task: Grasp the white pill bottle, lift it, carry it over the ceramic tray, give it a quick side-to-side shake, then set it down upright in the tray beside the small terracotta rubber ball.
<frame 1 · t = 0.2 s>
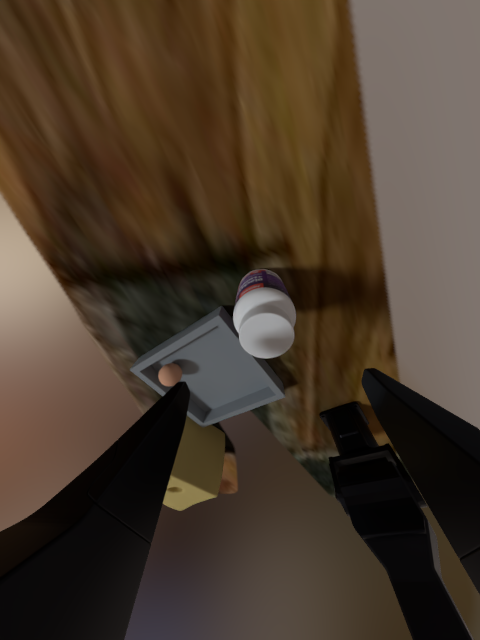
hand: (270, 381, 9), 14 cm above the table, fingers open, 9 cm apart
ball: (174, 366, 27), point 1 cm above the table, touching tray
cheese: (193, 429, 37), on the table
tray: (212, 370, 28), on the table
pill bottle: (260, 290, 22), on the table
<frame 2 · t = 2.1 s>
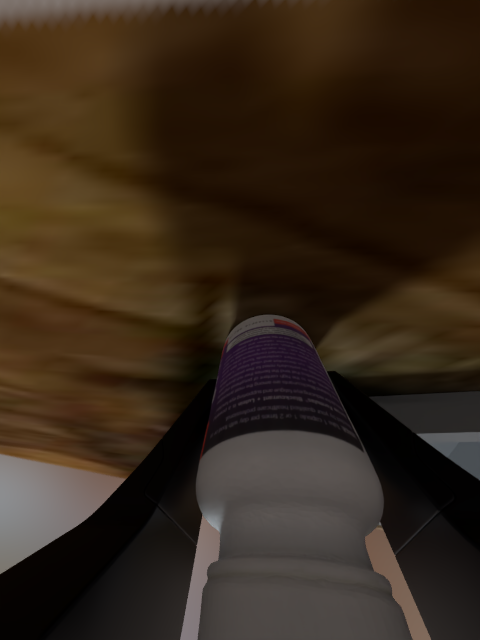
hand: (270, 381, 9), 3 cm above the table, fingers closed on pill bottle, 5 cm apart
tray: (353, 454, 17), on the table
pill bottle: (266, 348, 12), on the table, touching gripper
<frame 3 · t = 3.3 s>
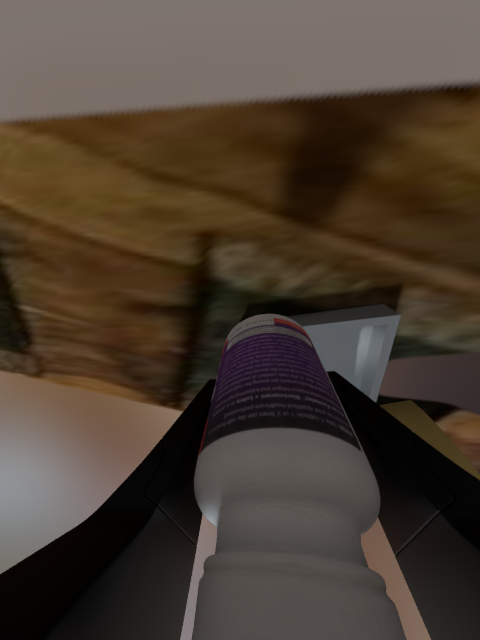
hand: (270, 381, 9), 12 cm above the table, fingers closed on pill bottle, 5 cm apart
cheese: (374, 420, 30), on the table
tray: (307, 365, 24), on the table
pill bottle: (266, 347, 12), point 9 cm above the table, touching gripper
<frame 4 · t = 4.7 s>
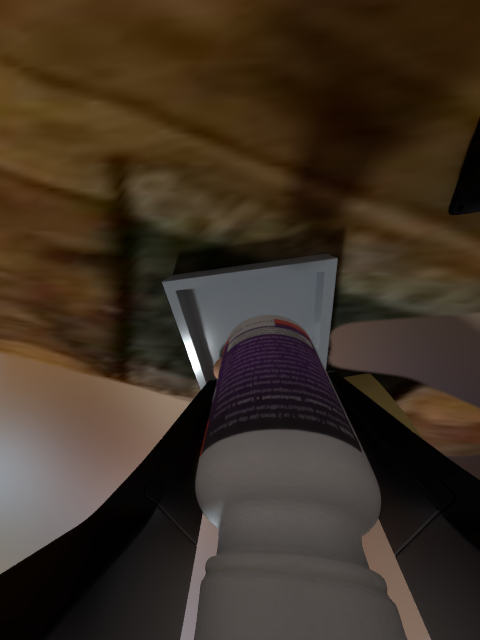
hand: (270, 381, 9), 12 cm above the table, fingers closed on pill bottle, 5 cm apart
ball: (227, 360, 24), point 1 cm above the table, touching tray
cheese: (334, 398, 28), on the table
tray: (254, 330, 22), on the table
pill bottle: (267, 347, 12), point 10 cm above the table, touching gripper
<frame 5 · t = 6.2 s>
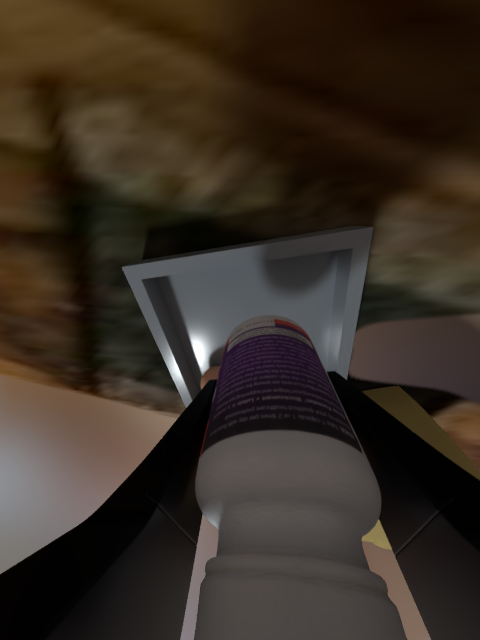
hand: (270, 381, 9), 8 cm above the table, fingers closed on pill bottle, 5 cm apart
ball: (219, 370, 19), point 1 cm above the table, touching tray
cheese: (351, 414, 23), on the table
tray: (252, 332, 17), on the table
pill bottle: (267, 348, 12), point 5 cm above the table, touching gripper
when the fingers open (4 cm above the table, at t = 7.3 s): pill bottle drops 1 cm, resting on tray.
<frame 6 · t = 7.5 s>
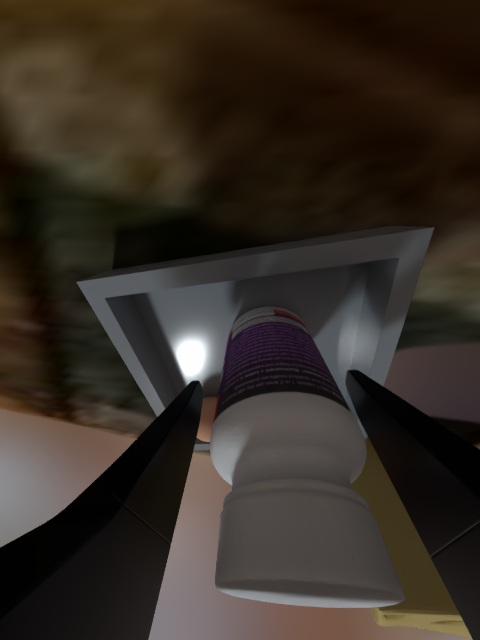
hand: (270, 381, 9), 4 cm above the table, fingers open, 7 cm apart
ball: (214, 400, 16), point 1 cm above the table, touching tray
cheese: (369, 446, 20), on the table
tray: (253, 357, 14), on the table
pill bottle: (267, 338, 13), resting on tray
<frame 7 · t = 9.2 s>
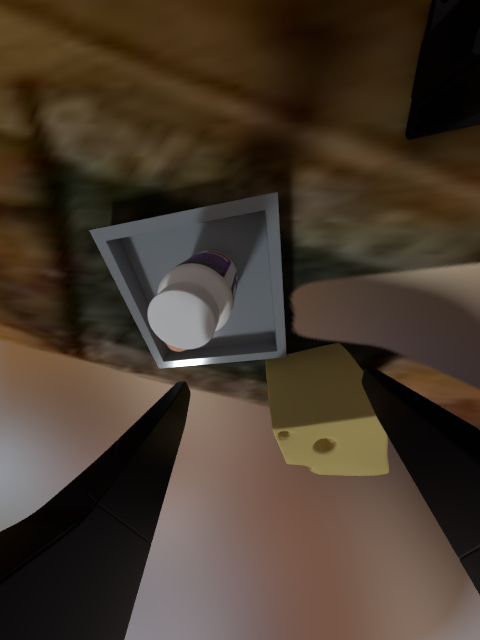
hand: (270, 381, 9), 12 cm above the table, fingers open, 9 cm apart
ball: (184, 330, 22), point 1 cm above the table, touching tray
cheese: (306, 373, 26), on the table
tray: (208, 294, 20), on the table
pill bottle: (213, 276, 19), resting on tray
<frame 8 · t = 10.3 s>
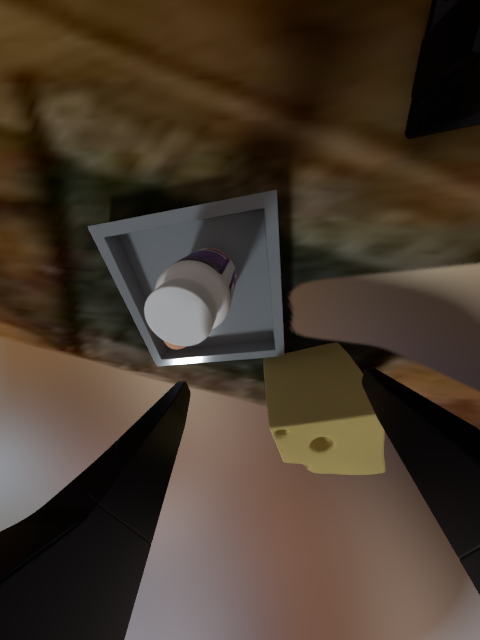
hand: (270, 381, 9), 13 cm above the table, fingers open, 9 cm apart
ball: (182, 328, 22), point 1 cm above the table, touching tray
cheese: (304, 373, 26), on the table
tray: (206, 292, 20), on the table
pill bottle: (211, 274, 19), resting on tray
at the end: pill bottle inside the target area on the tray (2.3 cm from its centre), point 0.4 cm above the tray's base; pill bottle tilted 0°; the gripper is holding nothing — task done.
